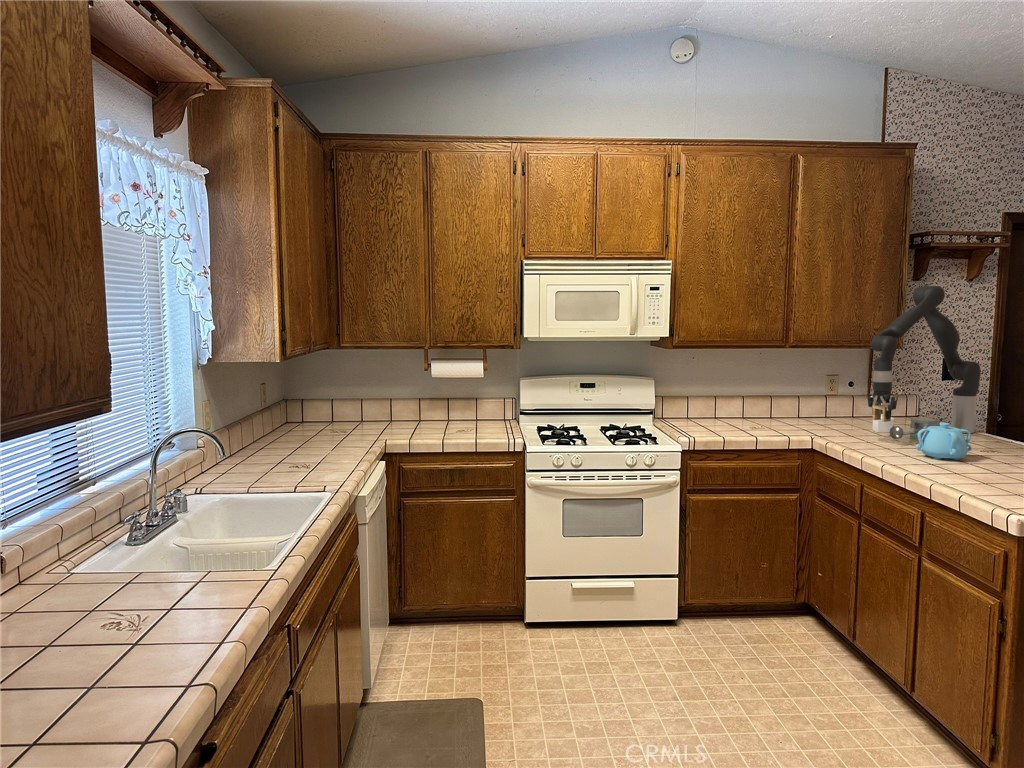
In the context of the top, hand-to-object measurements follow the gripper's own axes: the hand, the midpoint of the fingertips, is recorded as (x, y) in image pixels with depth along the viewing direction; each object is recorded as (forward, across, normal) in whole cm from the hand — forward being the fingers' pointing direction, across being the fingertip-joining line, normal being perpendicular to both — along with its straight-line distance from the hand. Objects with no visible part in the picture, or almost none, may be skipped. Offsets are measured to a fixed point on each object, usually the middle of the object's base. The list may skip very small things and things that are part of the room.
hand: (881, 417), depth 299 cm
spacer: (+1, 0, 0) cm, 1 cm away
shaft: (+8, -10, -5) cm, 14 cm away
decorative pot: (+9, -39, +14) cm, 42 cm away
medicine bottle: (+10, +11, -14) cm, 21 cm away
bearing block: (+9, -10, -6) cm, 15 cm away
